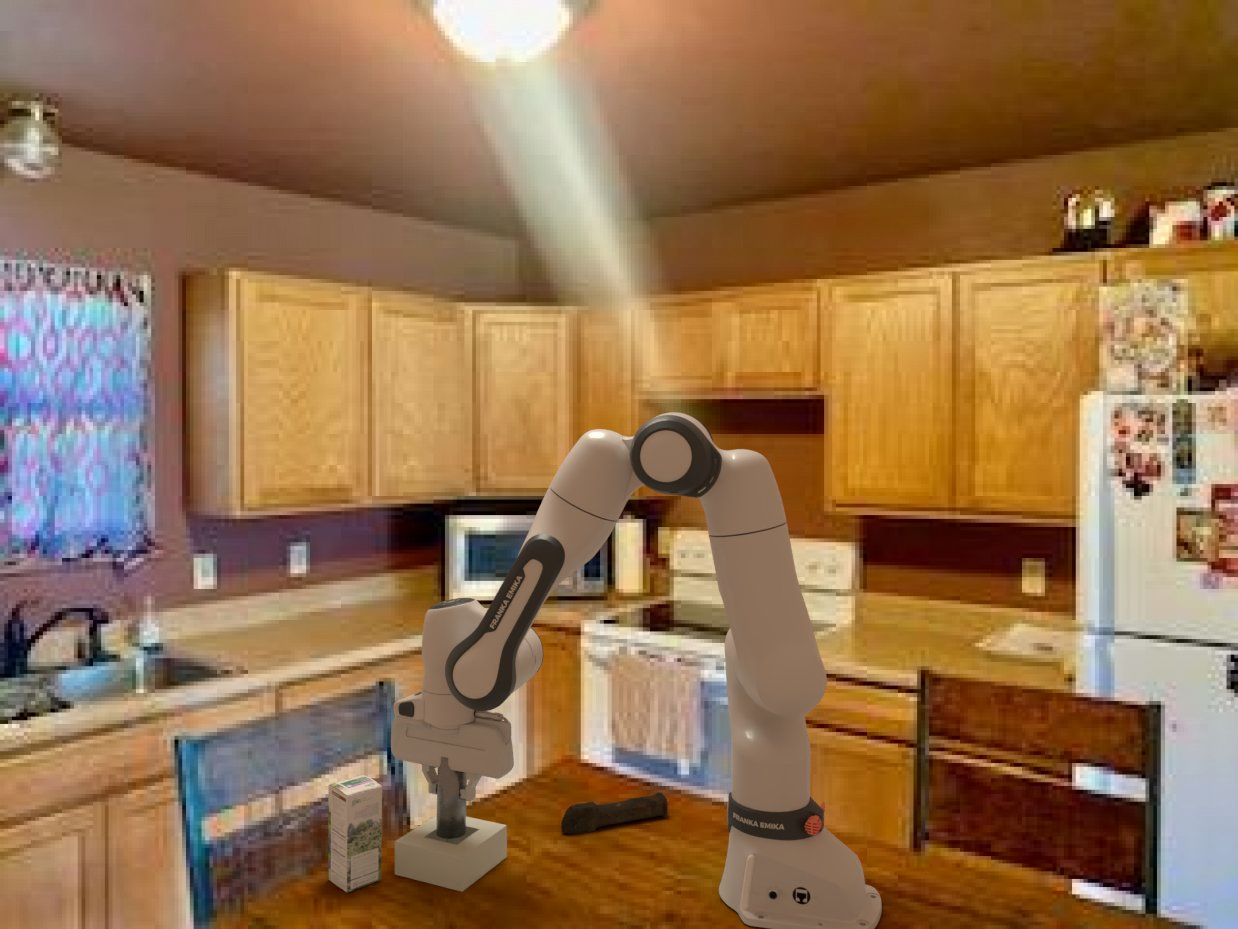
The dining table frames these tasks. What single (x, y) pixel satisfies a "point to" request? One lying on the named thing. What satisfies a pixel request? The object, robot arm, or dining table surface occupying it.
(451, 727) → the robot arm
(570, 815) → the hand tool
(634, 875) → the dining table surface
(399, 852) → the frame
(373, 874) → the syrup box
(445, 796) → the pin
